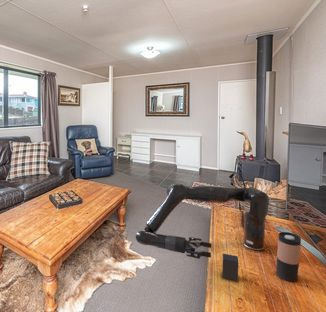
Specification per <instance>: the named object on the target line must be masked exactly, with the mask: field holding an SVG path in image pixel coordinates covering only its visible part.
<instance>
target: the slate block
mask: <svg viewBox="0 0 326 312" xmlns="http://www.w3.org/2000/svg"><path fill="white" fill-rule="evenodd" d="M221 268H222V269H221V275H222V279H224V280H229V281H233V282H238V281H239V256H238V255H233V254H228V253H222V267H221Z"/></svg>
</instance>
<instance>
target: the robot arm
mask: <svg viewBox="0 0 326 312" xmlns="http://www.w3.org/2000/svg"><path fill="white" fill-rule="evenodd" d="M166 195H167V197H166V199H165V200H164V201H163V203H162V204H161V205H159V207H158V208H157V209H156V210H155V211H154V212H153V213H152V214H151V215H150V217H149V218H148V220H147V221H146V223H145V226H144V228H143V230H139V231H137V232H136V234H135V241H136V242H137V243H138V244H140V245H141V246H150V247H151V246H152V247H154V248H158V249H163V250H168V251H170V252H174V253H181V254H185V255H186V257H189V258H194V259H199V260H200V259H201V258H202V257H204V258H208V259H209V258H212V252H210V251H205V250H201V249H199V248H200V247H203V248H209V249H211V248H212V243H211V242H208V241H207V242H206V241H203V240H202V238H198V237H192V236H189V237H188V240H187V239H186V237H184V236H177V235H171V234H162V233H157V232H158V231H159V229H160V228H161V227H162V225H163V224H164V222H165V221H166V220H167V219H168V217H169V216H170V215H171V214H172V212H173V211H174V210H175V209H176V207H177V206H178V205H179V204H181V203H182V202H183V201H184V200H191V201H192V200H193V201H198V202H202V203H210V204H226V203H230V202H243V203H247V204H249V209H247V210H245V211H244V212H243V211H242V209H241V208H240V207H236V209H237V210H239V211H240V212H241V220H240V223H241V226H242V229H243V231H244V232H243V246H244V247H245V248H247V249H249V250H251V251H258V252H259V251H263V250H264V249H265V236H266V235H265V233H266V232H265V231H266V217H267V215H268V213H269V206H270V197H269V195H268V194H267V193H266V192H264V191H262V190H260V189H258V188H256V187H229V186H216V185H200V186H188V185H184V184H182V183H172V184H170V185H169V186H168V187H167V189H166ZM243 221H244V222H243Z"/></svg>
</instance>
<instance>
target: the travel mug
mask: <svg viewBox="0 0 326 312" xmlns="http://www.w3.org/2000/svg"><path fill="white" fill-rule="evenodd" d="M277 239H278V240H277V250H276V251H277V253H276V275H277V277H278V278H280V279H281V280H284V281H286V282H291V283H292V282H293V283H295V282H296V281H297V280H298V274H299V269H300V268H299V267H300V259H301V258H300V257H301V244H302V237H301V236H300V235H299V234H296V233H293V232H290V231H289V232H288V231H281V232H279V233H278V238H277Z"/></svg>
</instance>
